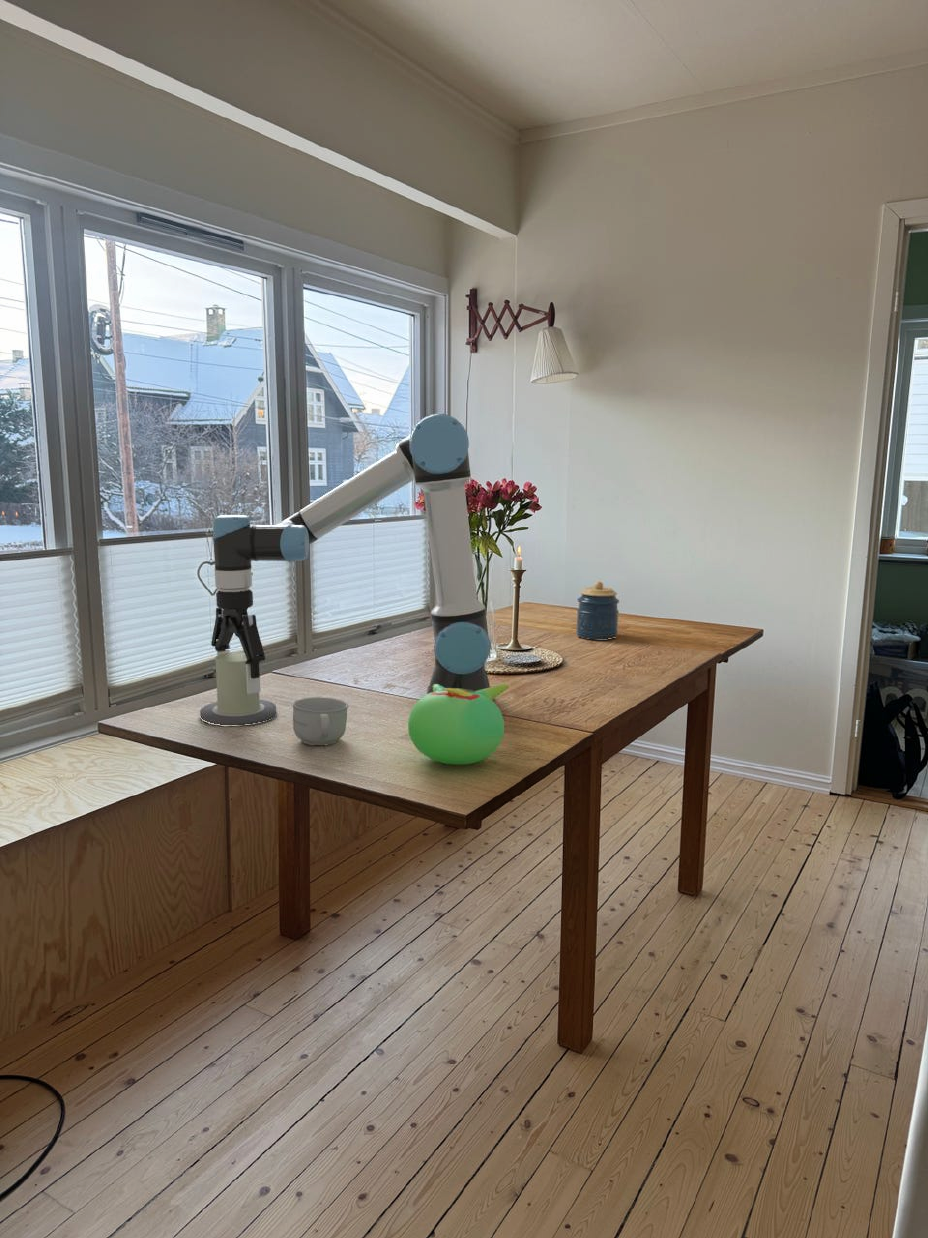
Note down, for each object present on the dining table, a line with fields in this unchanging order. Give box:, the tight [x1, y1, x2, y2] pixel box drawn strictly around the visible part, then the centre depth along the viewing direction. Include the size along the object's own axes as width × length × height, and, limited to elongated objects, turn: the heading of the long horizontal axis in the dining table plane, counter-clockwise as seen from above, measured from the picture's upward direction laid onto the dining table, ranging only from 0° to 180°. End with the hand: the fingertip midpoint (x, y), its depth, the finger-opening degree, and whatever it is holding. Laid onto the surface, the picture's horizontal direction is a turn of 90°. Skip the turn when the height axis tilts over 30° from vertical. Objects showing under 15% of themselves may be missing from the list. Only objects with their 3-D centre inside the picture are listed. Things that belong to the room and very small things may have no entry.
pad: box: [199, 699, 277, 725], centre depth 190 cm, size 16×16×2 cm
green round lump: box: [407, 684, 509, 766], centre depth 163 cm, size 18×17×15 cm
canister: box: [575, 580, 620, 639], centre depth 275 cm, size 13×13×18 cm
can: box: [214, 651, 261, 714], centre depth 189 cm, size 9×9×12 cm
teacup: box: [292, 696, 349, 746], centre depth 172 cm, size 14×11×8 cm
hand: (238, 686), depth 189 cm, fingers open, 13 cm apart
